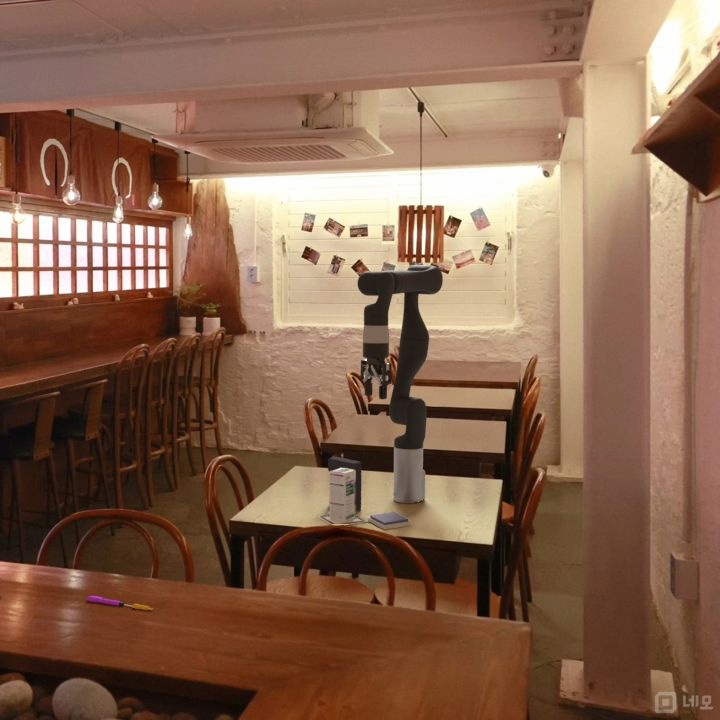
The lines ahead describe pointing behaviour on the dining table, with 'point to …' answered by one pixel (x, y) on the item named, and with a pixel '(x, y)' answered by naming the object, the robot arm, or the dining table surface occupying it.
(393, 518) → the ink pad
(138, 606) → the purple and yellow stick
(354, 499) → the syrup box
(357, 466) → the dark grey upright block
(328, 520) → the marked card
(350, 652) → the dining table surface
